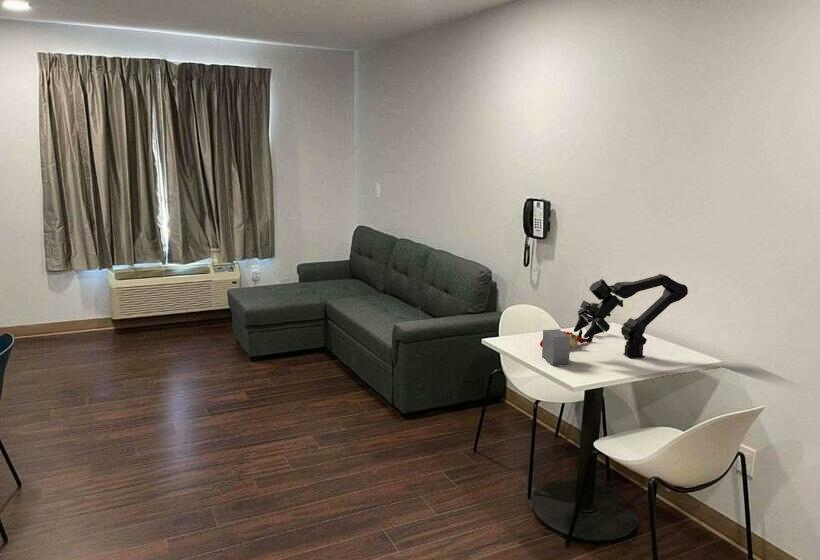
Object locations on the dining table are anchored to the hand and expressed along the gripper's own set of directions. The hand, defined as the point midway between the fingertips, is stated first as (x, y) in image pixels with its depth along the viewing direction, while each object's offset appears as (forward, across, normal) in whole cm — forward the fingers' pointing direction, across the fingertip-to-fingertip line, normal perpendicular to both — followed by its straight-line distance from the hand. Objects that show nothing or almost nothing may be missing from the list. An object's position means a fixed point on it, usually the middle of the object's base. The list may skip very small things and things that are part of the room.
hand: (579, 334), depth 261 cm
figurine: (+6, -20, +10) cm, 23 cm away
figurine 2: (-9, -34, +25) cm, 43 cm away
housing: (+15, 0, +1) cm, 15 cm away
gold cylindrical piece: (+9, 0, 0) cm, 9 cm away
